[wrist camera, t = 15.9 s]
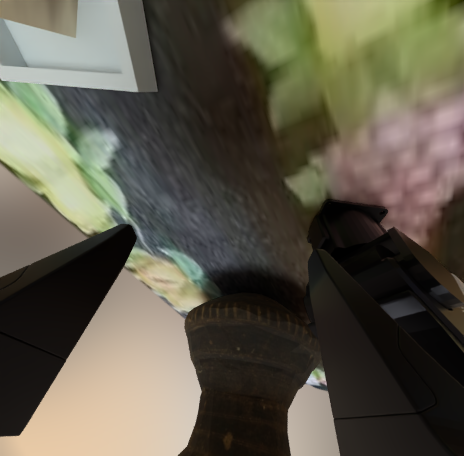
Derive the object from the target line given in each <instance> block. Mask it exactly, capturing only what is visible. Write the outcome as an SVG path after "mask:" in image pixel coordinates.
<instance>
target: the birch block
mask: <svg viewBox="0 0 464 456" xmlns="http://www.w3.org/2000/svg"><path fill="white" fill-rule="evenodd" d="M77 9H78V0H0V18H2V19H6V20H10V21H13V22H17V23H21V24H25V25H28V26H32V27H36V28H40V29H44V30H47V31H51V32H55V33H59V34H62V35H66V36H70V37H74V38H76V28H77Z"/></svg>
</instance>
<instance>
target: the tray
mask: <svg viewBox="0 0 464 456" xmlns="http://www.w3.org/2000/svg"><path fill="white" fill-rule="evenodd" d="M0 78H1V80H2V81H13V82H25V83H37V84H48V85H60V86H72V87H84V88H96V89H108V90H119V91H131V92H158V89H157V83H156V78H155V72H154V66H153V60H152V54H151V48H150V43H149V37H148V31H147V25H146V19H145V13H144V8H143V2H142V0H78V9H77V28H76V38H74V37H70V36H66V35H62V34H59V33H55V32H51V31H47V30H44V29H40V28H36V27H32V26H28V25H25V24H21V23H17V22H13V21H10V20H6V19H2V18H0Z"/></svg>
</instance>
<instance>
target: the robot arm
mask: <svg viewBox="0 0 464 456" xmlns="http://www.w3.org/2000/svg"><path fill="white" fill-rule="evenodd" d="M328 203H331V204H330V205H327V204H328ZM381 211H382V212H381ZM380 212H381V213H380ZM387 213H388V210H387V209H386V208H385V207H380V206H373V205H366V204H359V203H352V202H344V201H337V200H326V201H325V202H324V203H323V206H322V208H321V210H320V212H319V214H318V215H317V216H315V218H314V220H313V223H312V225H311V227H310V229H309V235H308V238H307V241H308V243H311V244H312V248H313V252H312V254H311V256H310V258H309V261H308V273H309V282H308V284H307V286H306V296H305V297H304V304H305V308H306V312H307V315H308V317H309V319H310V321H311V323H310V324H308V327H309V329H310V330H311V331H312V333H313V334H314V335H315V337H316V338H317V339H318V341H319V345H320V350H321V356H322V361H323V366H324V371H325V377H326V382H327V387H328V392H329V398H330V403H331V408H332V413H333V418H334V425H335V430H336V435H337V440H338V445H339V451H340V456H464V312H463V311H462V310H461V309H460V308H459V307H462V306H464V295H463V293H462V291H461V289H460V287H459V285H458V283H457V282H456V280H455V278H454V276H453V275H452V274H451V273H450V272H449V271H448V270H447V269H446V268H445V267H443V266H442V265H441V264H440V263H439V262H438V261H437V260H436V259H435V258H434V257H433V256H432V255H431V254H430V253H429V252H427V251H426V250H425V249H423V248H422V247H421V246H419V245H418V244H417V243H415V242H414V241H413V240H411V239H410V238H409V237H407V236H406V235H405V234H403V233H402V232H401V231H399V230H398V229H397V228H395V227H393V228H391V229H389V230H387V231H388V232H387V231H386V230H385V229H384V228H383V226H382V225H381V224H380V222H381V221H382V219H383V218H384V217H385V216H386V214H387ZM136 240H137V236H136V234H135V232H134V230H133V228H132V226H131V225H129V224H120V225H118V226H116V227H113V228H111V229H109V230H107V231H104V232H102V233H100V234H98V235H95V236H93V237H91V238H89V239H86V240H84V241H82V242H80V243H77V244H75V245H73V246H71V247H68V248H66V249H64V250H62V251H59V252H57V253H55V254H52V255H50V256H48V257H46V258H44V259H41V260H39V261H37V262H34V263H32V264H31V265H28V266H25V267H23V268H21V269H19V270H16V271H14V272H12V273H9V274H7V275H5V276H2V277H0V437H1V436H19V435H20V434H21V432H22V431H23V430H24V428H25V427H26V425H27V424H28V422H29V420H30V419H31V417H32V415H33V414H34V412H35V411H36V409H37V407H38V406H39V404H40V402H41V401H42V399H43V398H44V396H45V394H46V392H47V391H48V389H49V388H50V386H51V384H52V383H53V381H54V380H55V378H56V376H57V375H58V373H59V372H60V370H61V368H62V367H63V365H64V363H65V362H66V359H67V358H68V357H69V355H70V353H71V352H72V350H73V348H74V347H75V345H76V344H77V342H78V340H79V339H80V337H81V335H82V334H83V332H84V330H85V329H86V327H87V326H88V324H89V322H90V321H91V319H92V317H93V316H94V314H95V313H96V311H97V309H98V308H99V306H100V305H101V303H102V301H103V300H104V298H105V296H106V295H107V293H108V291H109V290H110V288H111V286H112V285H113V283H114V282H115V280H116V278H117V277H118V275H119V273H120V272H121V270H122V269H123V267H124V265H125V263H126V261H127V259H128V257H129V255H130V253H131V251H132V249H133V246H134V244H135V242H136Z"/></svg>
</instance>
